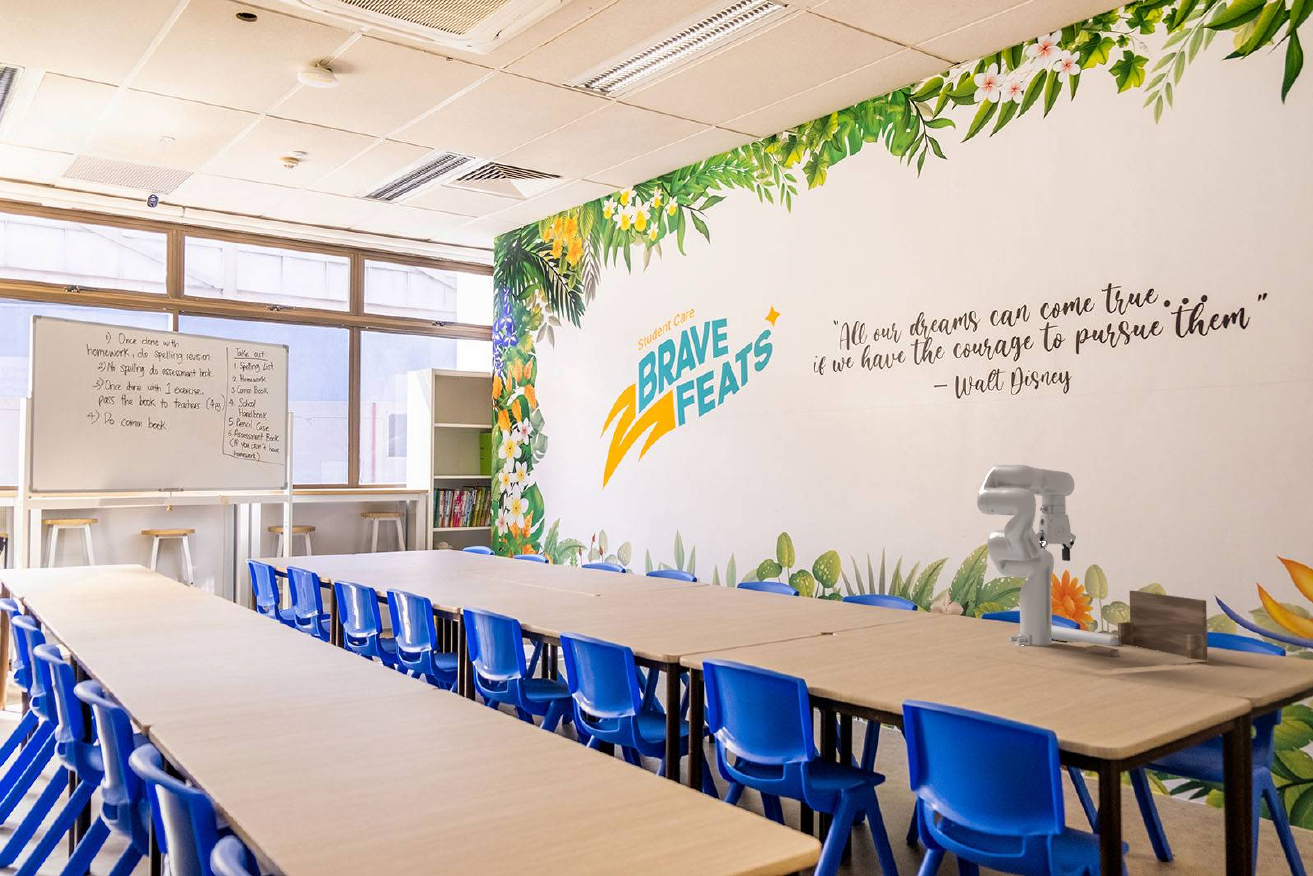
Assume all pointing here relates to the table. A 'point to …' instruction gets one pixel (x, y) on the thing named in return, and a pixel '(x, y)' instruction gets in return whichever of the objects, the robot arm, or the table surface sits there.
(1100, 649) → the offcut top
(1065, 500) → the robot arm
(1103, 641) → the tube
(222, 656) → the table surface
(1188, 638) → the wooden panel stand
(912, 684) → the table surface
